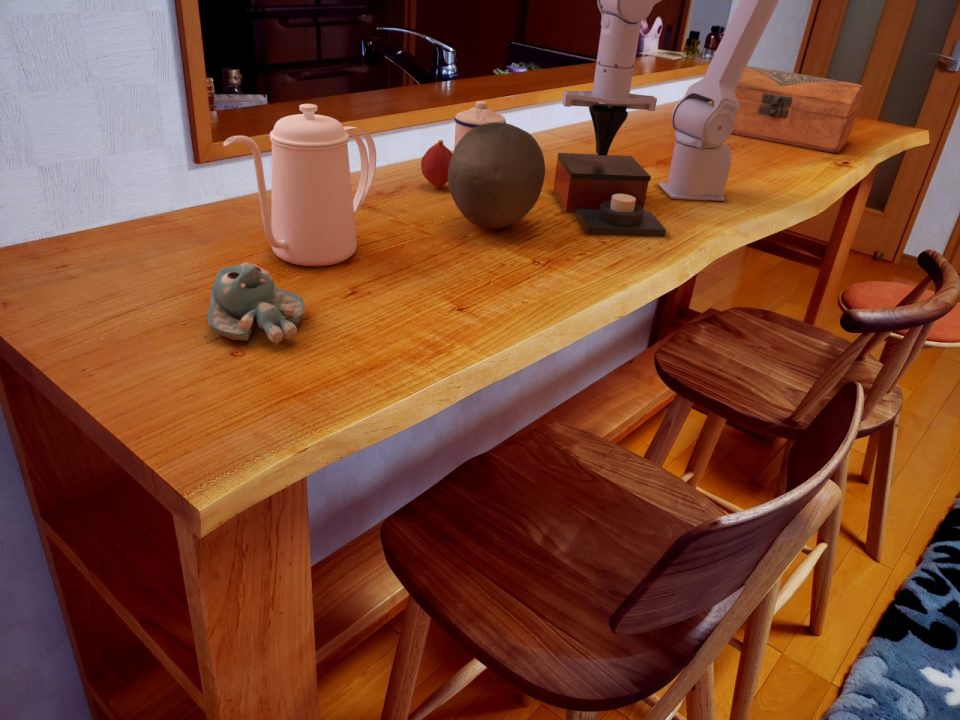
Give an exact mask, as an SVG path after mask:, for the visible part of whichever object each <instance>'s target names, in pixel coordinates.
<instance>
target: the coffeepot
mask: <svg viewBox="0 0 960 720" xmlns="http://www.w3.org/2000/svg"><path fill="white" fill-rule="evenodd" d="M298 108H299V111H300V112H302V113H298V114H292V115H287V116H283V117H281V118H279V119H278V120H277V121H276V122H275V123H274V126H273V129H272V130H271V131H270V132H269V140H270V142H271V211H270V208H269V200H268V194H267V187H266V179H265V174H264V165H263V160H262V159H263V158H262V153H261V151H260V148H259V146H258V144H257V142H256V140H254V139H252V138H251V137H249V136H246V135H232V136H230V137H228V138H226V139H225V140H224V141H223V146H224V147H227V146H231V145H245V146H248V148H249V149H250V151H251V153H252V157H253V165H254V171H255V177H256V184H257V191H258V199H259V206H260V211H261V218H262V225H263V230H264V235H265V238H266V240H267V242H268V243H269V244H270V246H271V250H272V252H273V253H274V254H275V255H276V256H277V257H278V258H279V259H281V260H282V261H284V262H287V263H289V264H293V265H296V266H302V267H304V266H305V267H324V266H331V265H337V264H339V263H342V262H344V261H346V260H348V259H349V258H351V257H352V256H353V255H354V253H355V252H356V250H357V247H358V240H357V228H356V220H355V215H356V213H357V212H358V211H360V209H361V207H362V205H363V204H364V203H365V200H366V199H367V197H368V195H369V193H370V190H371V188H372V185H373V183H374V178H375V174H376V168H377V149H376V145H375V142H374V139H373V137H372V135H371V134H370V133H369V132H368V130H365V129H364V128H360V127H356V126H351V125H349V126H343V124H342V123H341V122H340V121H339V120H338V119H336V118H333V117H331V116H327V115H323V114H316V112H317V111H318V105H317V104H313V103H302V104H299V105H298ZM355 130H357V131H358V132H360V133H361V135H362V136H363V137H364V139H365V142H366V144H365V143H364V141H363V139H362V138H361V137H360V136H359V135H358V134H357V133H355V132H353V131H355ZM350 136H351V137H352V138H353V140H354V141H355V143H356V145H357V148H358V152H359V157H360V175H359V176H360V177H359V181H358V186H357V190H356V192H355V195H354V196H353V189H352V188H353V187H352V178H351V168H350V167H351V166H350V155H349V148H348V147H349V146H348V143H349V141H350ZM366 146H367V147H366ZM270 212H271V214H270Z"/></svg>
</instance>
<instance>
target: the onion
mask: <svg viewBox="0 0 960 720" xmlns="http://www.w3.org/2000/svg"><path fill="white" fill-rule="evenodd" d="M452 155H453V152H452V151H451V149H449V148H448V147H447V146H446V145H445V144H444V140H442V139H439V140H438V141H437V142H436V143H434V145H431V147H429V148H428V149H427V151H426V152H425V153H424V154H423V156H422V158H421V160H420V169H421V174H422V175H423V177H424V178H425V179H426V180H427V182H428V183H430V185H432V186H433V187H434V188H435V189H441V188H443V187H444V186H445V185H446V184H447V183H448V169H449V164H450V161H451V158H452Z"/></svg>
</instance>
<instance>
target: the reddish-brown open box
mask: <svg viewBox="0 0 960 720" xmlns="http://www.w3.org/2000/svg"><path fill="white" fill-rule="evenodd" d="M649 182H650V181H631V180H605V179H579V178H571V177H570V175H569V174H568V172H567V171H566V169H565V168H564V166H563V165H562V163H561V162H560V160H559V159H558V157H557V158H556V166H555V174H554V183H553V190H552V192H553V194H554V195H555V197H556V199H557V200H558V202H559V203H560V206H561V207H562V209H563V211H564V212H565V214H576V209H595V210H599V208H600V205H601V204H602V203H603V202H606V201H611V199H612V195H614V194H626V195H630V196H633V197H635V198H636V202H635V204H636V205H638V206H641V207H642V208H643V209H644V208H645V204H646V198H647V194H648V193H647V192H648V188H649Z"/></svg>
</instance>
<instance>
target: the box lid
mask: <svg viewBox="0 0 960 720" xmlns="http://www.w3.org/2000/svg"><path fill="white" fill-rule="evenodd" d="M557 158H558V159H559V160H560V162H561V163H562V165H563V166H564V168H565V169H566V171H567V172H568V174H569V175H570V177H571V178H579V179H605V180H631V181H649V182H651V178H652V176H651V174H649V172H648V171H646V170H645V168H644V167H642V166H641V164H640V163H639V162H638V161H637V160H636V159H635V158H634V157H633V156H632V155H619V154H618V155H617V154H607V156H603V155H598V154H597V153H574V152H573V153H572V152H557Z"/></svg>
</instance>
